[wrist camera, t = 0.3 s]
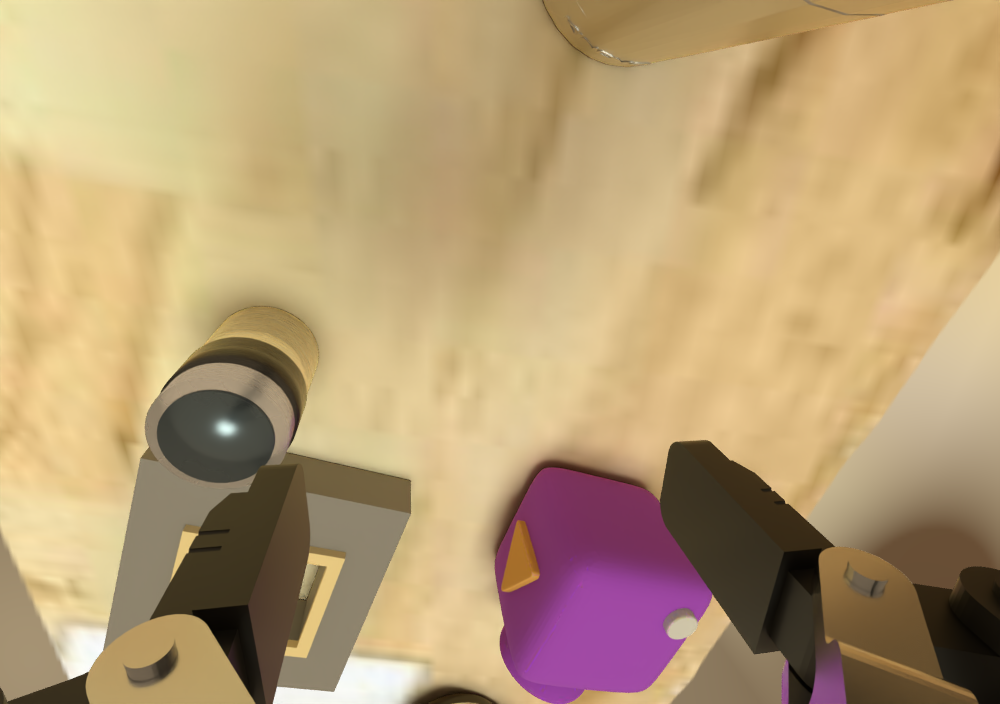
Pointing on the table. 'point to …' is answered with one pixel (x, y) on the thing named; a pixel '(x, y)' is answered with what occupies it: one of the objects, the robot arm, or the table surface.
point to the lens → (235, 400)
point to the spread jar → (461, 699)
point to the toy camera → (592, 588)
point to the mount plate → (333, 546)
